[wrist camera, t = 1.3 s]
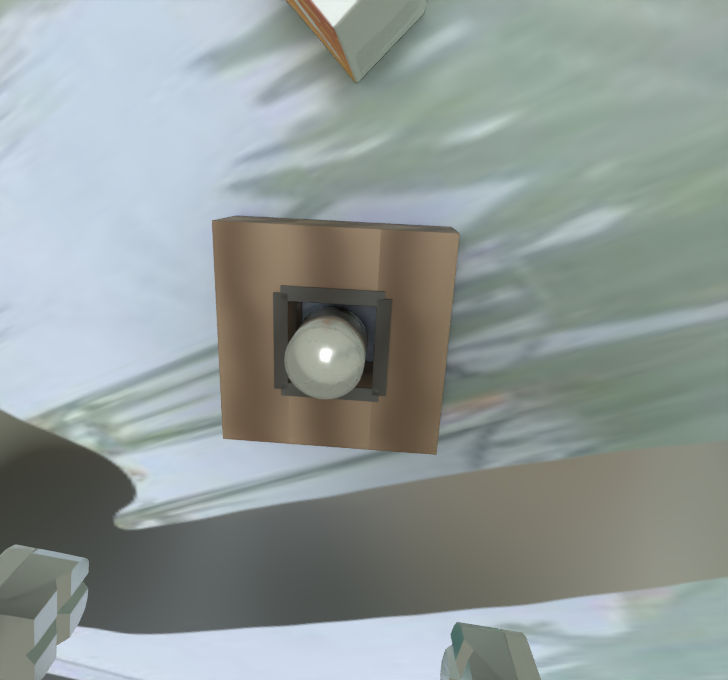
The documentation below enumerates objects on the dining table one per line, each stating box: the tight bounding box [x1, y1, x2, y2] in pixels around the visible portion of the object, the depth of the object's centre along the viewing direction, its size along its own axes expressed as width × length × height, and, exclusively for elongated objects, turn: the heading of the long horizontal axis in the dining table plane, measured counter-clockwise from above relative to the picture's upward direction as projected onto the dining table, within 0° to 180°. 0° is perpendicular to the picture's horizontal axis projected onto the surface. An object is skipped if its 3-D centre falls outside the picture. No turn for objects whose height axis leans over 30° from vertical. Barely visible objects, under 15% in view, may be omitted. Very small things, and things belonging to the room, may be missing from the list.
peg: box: [284, 306, 368, 399], centre depth 32 cm, size 5×5×5 cm
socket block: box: [212, 216, 460, 455], centre depth 36 cm, size 16×16×5 cm
